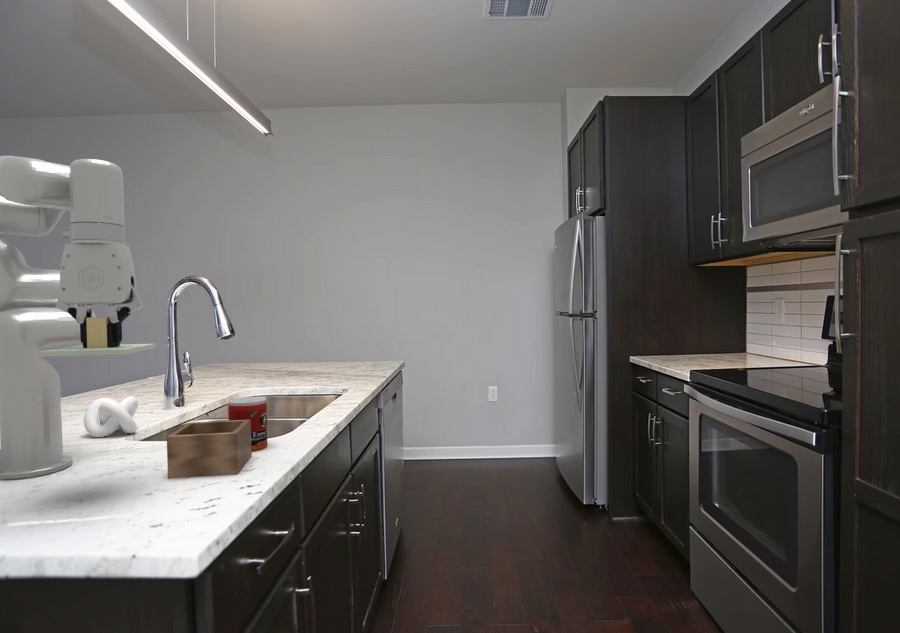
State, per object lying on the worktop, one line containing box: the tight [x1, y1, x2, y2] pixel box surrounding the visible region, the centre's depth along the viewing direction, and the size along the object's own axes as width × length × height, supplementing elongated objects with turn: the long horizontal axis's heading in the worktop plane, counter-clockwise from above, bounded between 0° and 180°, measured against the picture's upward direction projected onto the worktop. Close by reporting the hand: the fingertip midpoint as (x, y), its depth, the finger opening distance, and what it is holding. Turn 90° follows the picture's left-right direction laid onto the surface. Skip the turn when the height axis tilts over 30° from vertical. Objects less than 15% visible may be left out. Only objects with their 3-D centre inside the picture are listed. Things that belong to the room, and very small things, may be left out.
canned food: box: [227, 396, 268, 453], centre depth 116 cm, size 8×8×11 cm
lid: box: [38, 316, 157, 358], centre depth 89 cm, size 12×12×6 cm
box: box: [166, 420, 253, 480], centre depth 103 cm, size 12×12×8 cm
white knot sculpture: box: [83, 395, 139, 438], centre depth 135 cm, size 11×12×9 cm
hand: (101, 346), depth 90 cm, fingers closed on lid, 3 cm apart
